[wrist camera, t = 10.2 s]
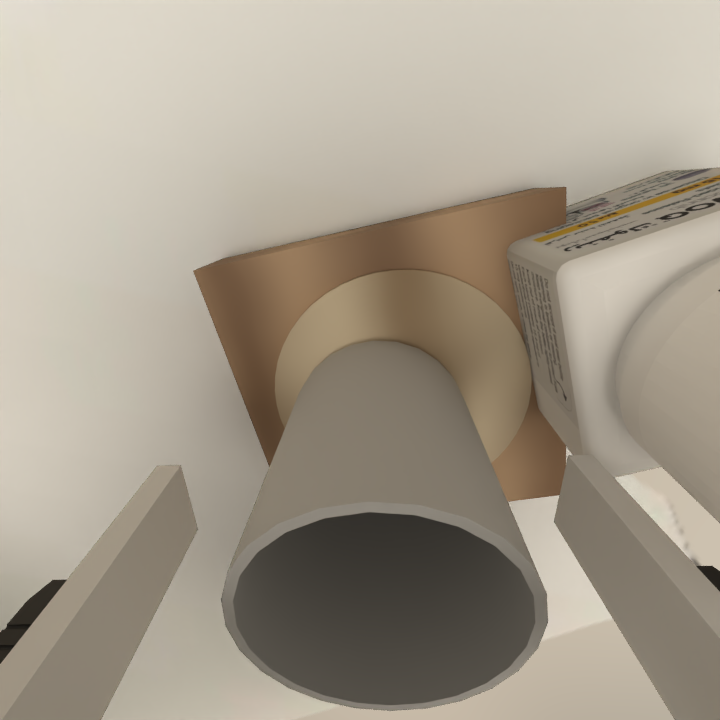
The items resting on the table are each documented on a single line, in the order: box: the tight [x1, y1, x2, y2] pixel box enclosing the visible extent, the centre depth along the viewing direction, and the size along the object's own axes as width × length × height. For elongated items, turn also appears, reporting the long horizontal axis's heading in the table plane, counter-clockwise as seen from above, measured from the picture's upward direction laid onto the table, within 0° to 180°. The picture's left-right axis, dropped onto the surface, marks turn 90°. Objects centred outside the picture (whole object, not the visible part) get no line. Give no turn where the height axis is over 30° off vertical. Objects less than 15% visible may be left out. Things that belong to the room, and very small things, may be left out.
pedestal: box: [194, 187, 566, 501], centre depth 18 cm, size 14×14×3 cm
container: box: [507, 168, 720, 523], centre depth 11 cm, size 8×8×13 cm
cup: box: [221, 341, 548, 711], centre depth 13 cm, size 7×10×9 cm
